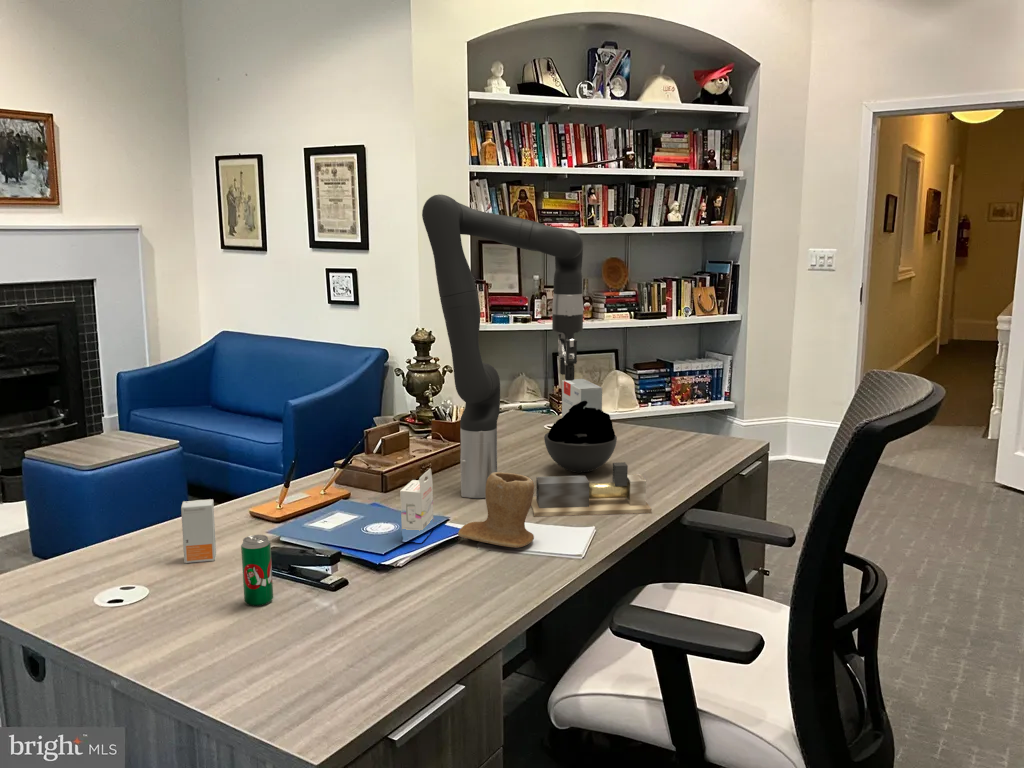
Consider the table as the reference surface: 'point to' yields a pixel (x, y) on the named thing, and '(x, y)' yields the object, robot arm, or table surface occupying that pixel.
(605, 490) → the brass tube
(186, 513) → the skincare box
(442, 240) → the robot arm
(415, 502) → the ink cartridge box
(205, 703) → the table surface
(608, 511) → the tube stand
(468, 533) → the brown felt boot
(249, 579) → the soda can
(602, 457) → the coal bowl
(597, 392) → the hard drive box
